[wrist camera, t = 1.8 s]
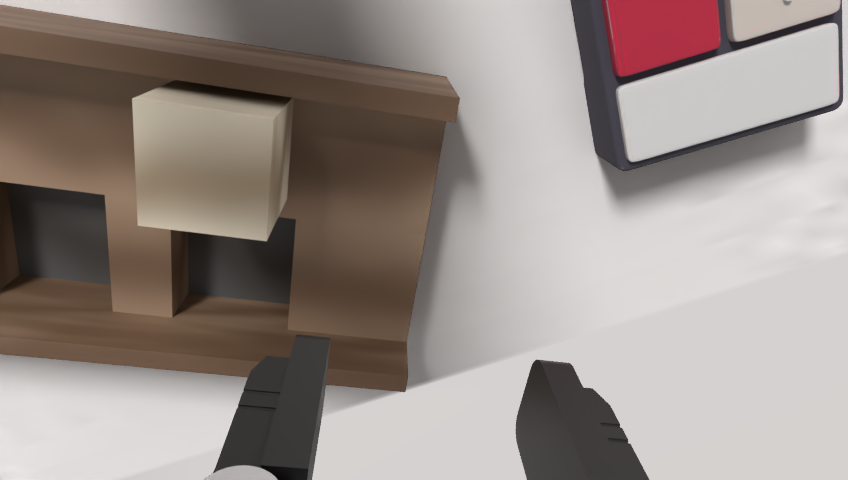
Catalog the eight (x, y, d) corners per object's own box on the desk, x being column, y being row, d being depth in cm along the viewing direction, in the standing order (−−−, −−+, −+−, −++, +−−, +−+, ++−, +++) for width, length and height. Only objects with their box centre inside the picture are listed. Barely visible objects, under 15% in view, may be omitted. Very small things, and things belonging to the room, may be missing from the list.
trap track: (-246, -36, 25) (-427, -42, 19) (446, 76, 28) (459, 98, 23) (-160, 267, 31) (-280, 327, 25) (402, 327, 34) (405, 392, 29)
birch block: (179, 78, 25) (131, 98, 20) (294, 95, 25) (273, 119, 21) (180, 184, 27) (137, 225, 22) (287, 199, 27) (266, 241, 23)
